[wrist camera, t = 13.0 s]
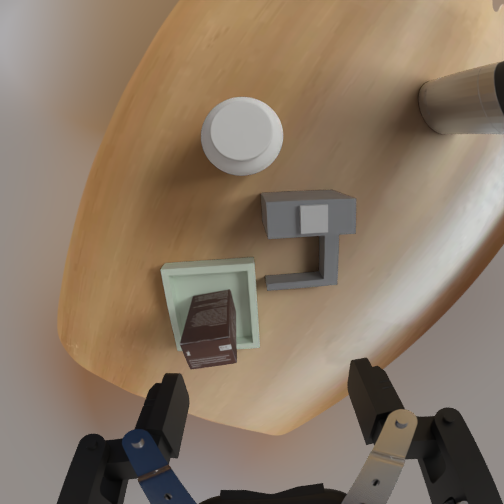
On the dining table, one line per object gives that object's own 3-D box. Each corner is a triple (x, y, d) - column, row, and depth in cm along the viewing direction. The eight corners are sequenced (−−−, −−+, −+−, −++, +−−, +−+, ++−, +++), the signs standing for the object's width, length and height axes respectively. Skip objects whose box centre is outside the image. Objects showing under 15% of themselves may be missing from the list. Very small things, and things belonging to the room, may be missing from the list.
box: (200, 320, 44) (189, 371, 32) (192, 295, 42) (176, 341, 31) (238, 314, 44) (237, 364, 32) (231, 287, 42) (228, 334, 31)
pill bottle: (210, 115, 35) (192, 90, 21) (271, 112, 35) (289, 85, 21) (213, 173, 38) (196, 181, 23) (273, 170, 38) (293, 176, 23)
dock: (332, 189, 39) (358, 199, 30) (331, 276, 43) (352, 306, 34) (260, 192, 39) (266, 203, 29) (265, 281, 43) (271, 314, 34)
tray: (253, 256, 41) (254, 263, 39) (259, 338, 46) (259, 347, 43) (164, 263, 41) (160, 269, 39) (180, 341, 46) (177, 351, 43)
